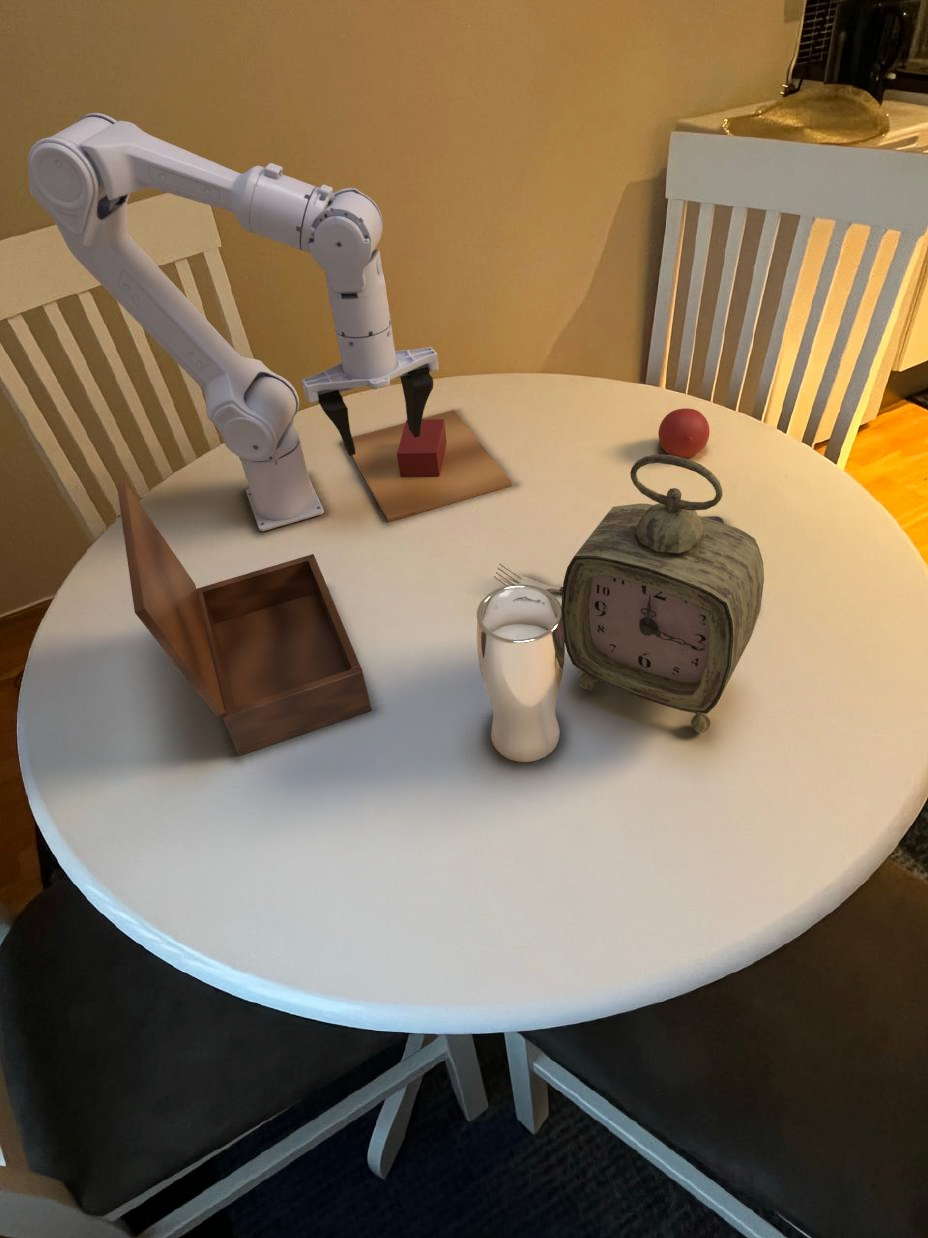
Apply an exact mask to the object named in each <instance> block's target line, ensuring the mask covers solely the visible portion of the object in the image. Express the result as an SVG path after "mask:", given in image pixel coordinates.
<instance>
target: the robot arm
mask: <svg viewBox="0 0 928 1238" xmlns="http://www.w3.org/2000/svg"><path fill="white" fill-rule="evenodd" d="M27 155H28V156H27V173H28V184H29V193H30V196H31V197H32V198H33V199H35V201H36V202H37V203H38V204H39V205H40V206H41V207H42V208H43V209H44V210H45V211H46V213H48V214H49V215H50V217H52V219H53V221H54V223H55V225H56V226H57V229H58V231H59V233H60V235H61V237H62V239H63V241H64V242H65V245H66V246H67V248H68V250H69V252H70V253H71V254H72V255H73V257H74V258H75V260H77V261H78V263H80V264H81V266H82V267H84V269H86V270H87V271H88V273H90V274H91V276H92V277H93V278H94V279H95V280H96V281H97V282H98V283H99V284H100V285H101V286H102V287H103V288H104V289H105V290H106V291H107V292H108V293H109V294H110V296H112V297H113V299H115V300H116V301H117V302H118V304H120V306H121V307H123V309H124V310H126V312H127V313H128V314H129V315H130V316H131V317H132V318H133V319H134V320H135V321H136V322H137V323H138V324H139V325H140V326H141V327H142V329H144V330H145V331H146V333H148V334H149V336H150V337H151V338H152V339H153V340H154V341H155V342H156V343H157V344H158V345H159V346H160V347H161V348H162V349H163V350H164V351H165V352H166V353H167V354H168V355H169V356H170V357H171V358H172V359H173V360H174V361H175V363H176V364H178V366H180V367H181V369H183V371H185V373H186V374H187V375H188V376H189V377H190V378H191V379H192V380H193V381H194V382H195V383H196V384H197V385H198V386H199V387H200V388H201V389H202V390H203V394H204V401H205V409H206V415H207V416H206V417H207V419H208V420H209V421H210V422H211V423H212V424H213V425H214V426H215V428H216V429H217V430H218V432H219V434H220V437H221V439H222V441H223V443H224V445H225V446H226V447H227V449H228V450H229V451H230V452H231V453H232V454H234V455H235V456H237V457H238V458H239V461H240V462H241V466H242V470H243V472H244V475H245V478H246V482H247V486H248V488H246V490H245V493H246V495H247V498H248V501H249V504H250V507H251V511H252V512H253V513H252V514H253V517H254V519H255V521H256V524H257V527H258V530H259V531H260V532H267V531H269V530H272V529H275V528H279V527H282V526H286V525H290V524H293V523H297V522H301V521H303V520H307V519H310V518H313V517H317V516H321V515H323V514H324V513H325V510H324V508H323V505H322V503H321V501H320V498H319V496H318V495H317V493H316V490H315V488H314V485H313V483H312V481H311V479H310V475H309V472H308V471H309V470H308V467H307V464H306V459H305V456H304V452H303V447H302V444H301V440H300V435H299V434H300V433H299V432H298V430H297V428H296V427H297V426H296V423H295V416H296V415H297V414H298V411H299V408H300V398H299V395H298V392H297V390H296V388H295V387H294V385H293V384H292V383H291V382H290V381H289V380H288V379H286V378H284V376H281V375H279V374H278V373H275V372H273V371H272V370H270V368H269V367H267V366H266V365H265V363H263V361H262V360H260V359H257V358H251V357H245V356H241V355H240V354H239V353H238V352H237V351H236V350H235V349H234V348H233V346H231V344H230V343H229V342H228V341H227V340H226V339H225V338H224V336H222V335H221V334H220V332H219V331H218V330H217V329H216V328H215V327H214V326H213V325H212V324H211V323H210V322H209V320H208V319H207V318H206V317H205V316H204V315H203V313H201V311H199V310H198V309H197V307H196V306H195V305H194V304H193V303H192V302H191V300H189V299H188V297H186V295H185V294H184V293H183V292H182V291H181V289H179V288H178V287H177V285H175V283H174V282H173V281H172V280H171V279H170V278H169V277H168V276H167V274H165V272H164V271H163V270H162V269H161V268H160V267H159V265H157V264H156V263H155V261H154V260H153V259H152V257H150V256H149V255H148V253H146V252H145V250H143V248H141V246H139V243H137V242H136V241H135V240H134V239H133V238H132V236H131V235H130V234H129V231H128V230H129V229H128V227H129V226H128V225H129V224H128V202H129V198H130V195H131V194H133V193H137V192H138V191H142V190H144V189H153V190H156V191H160V192H163V193H166V194H170V195H173V196H176V197H179V198H184V199H187V200H191V201H194V202H196V203H197V202H198V203H201V204H204V205H208V206H211V207H214V208H218V209H221V210H224V211H227V212H231V213H232V214H233V215H234V217H235V218H236V220H237V222H238V223H239V226H240V227H241V228H242V229H243V230H244V231H246V232H248V233H251V234H254V235H257V236H259V237H262V238H265V239H268V240H271V241H274V242H277V243H279V244H282V245H285V246H288V247H291V248H293V249H296V250H300V251H302V252H305V253H307V254H311V256H312V258H313V260H314V261H315V263H317V265H318V266H319V267H320V268H321V269H322V270H323V272H324V275H325V280H326V288H327V295H328V299H329V303H330V309H331V316H332V320H333V325H334V330H335V335H336V340H337V346H338V351H339V356H340V361H341V363H338V364H335V365H334V366H331V367H329V368H327V369H325V370H323V371H320V372H319V373H316V374H314V375H311V376H307V377H303V378H301V385H302V388H303V392H304V396H305V398H306V400H307V401H308V403H309V404H314V403H316V402H318V404H319V406H320V407H321V410H322V411H323V412H324V414H325V415H326V416H327V418H329V420H330V421H331V422H332V424H333V425H334V426H335V428H336V430H337V431H338V433H339V434H340V437H341V440H342V442H343V445H344V449H345V451H346V452H347V454H348V455H349V456H351V457H352V455H354V454H356V453H355V446H354V443H353V439H352V437H353V435H352V432H351V426H350V420H349V409H348V407H347V405H346V403H345V401H344V397H343V396H342V394H341V393H343V392H347V391H350V390H351V391H352V390H355V389H359V388H367V387H368V388H369V387H370V389H372V390H377V389H382V388H386V387H389V386H390V385H391V381H393V380H394V379H398V378H400V382H401V387H402V390H403V391H402V392H403V397H404V401H405V412H406V413H405V414H406V420H407V422H408V427H409V430H410V432H411V433H412V435H413V436H414V437H415V438H416V437H419V436H420V430H421V422H422V418H424V417H423V416H424V411H425V408H426V404H427V402H428V399H429V397H430V395H431V393H432V391H433V389H434V378H433V376H432V375H431V374H430V373H431V372H437V371H439V370H440V368H439V367H440V365H439V359H438V353H437V351H435V349H434V348H433V347H432V346H427V347H422V348H414V349H404V350H402V349H401V350H396V348H395V341H394V333H393V327H392V320H391V312H390V307H389V299H388V293H387V285H386V280H385V275H384V272H383V264H382V257H381V252H380V248H377V246H378V244H379V243H380V241H381V238H382V235H383V230H384V219H383V216H382V213H381V210H380V208H379V207H378V205H377V204H376V202H375V201H374V200H373V199H372V198H371V197H369V195H367V194H365V193H363V192H362V191H360V190H358V189H357V188H355V187H347V188H342V189H339V190H337V191H336V192H333V191H334V188H333V187H332V186H329V185H327V184H322V185H320V187H319V186H316V185H313V184H310V183H308V182H305V181H303V180H299V179H297V178H294V177H291V176H288V175H285V174H283V171H284V168H283V166H281V165H278V164H275V163H272V162H269V163H268V164H267V165H266V166H265V167H264V166H261V165H255V166H253V167H251V168H250V169H248V170H247V171H245V172H243V173H240V172H237V171H235V170H233V169H230V168H229V167H226V166H224V165H221V164H219V163H217V162H214V161H213V160H210V159H207V158H205V157H203V156H200V155H197V154H196V153H193V152H191V151H189V150H186V149H184V148H181V147H179V146H177V145H175V144H172V143H170V142H167V141H165V140H162V139H160V138H159V137H155V136H153V135H151V134H149V133H147V132H145V131H144V130H142V129H141V128H140V127H139V126H137V125H136V124H135V123H133V122H130V121H125V120H116V119H114V118H113V117H111V116H110V115H107V114H104V113H99V112H92V113H88V114H85V115H83V116H82V117H80V118H79V119H78V120H77V121H76V122H75V123H73V124H72V125H70V126H67V127H66V128H64V129H62V130H61V131H59V132H56V133H55V134H53V135H51V136H48V137H44V138H41V139H39V140H37V141H36V142H35V143H33V145H32V146H31V148H30V150H29V153H28V154H27Z"/></svg>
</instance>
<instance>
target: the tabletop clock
mask: <svg viewBox="0 0 928 1238" xmlns="http://www.w3.org/2000/svg"><path fill="white" fill-rule="evenodd" d="M649 464H651V465H652V464H665V465H671V466H675V467H680V468H684V469H686V470H689V471H692V472H695V473H696V474H698V475H700V476H702V477H703V478H705V479H706V480H707V481H708V482H709V483H710V484H711V486H712V488H713V489H714V490H715V496H714V498H713V499H709V500H707V501H690V500H685V499H682V492H681V490H680V489H678V488H676V487H671V488H669V489H668V490H667V492H666V495H665V494H662V493H659V492H657V491H655V490H653V489H651V488H649V487H647V486H646V485H644V484H643V483H642V482H641V481H640V480H639V479H638V475H637V474H638V470H639V469H641V468H642V467H644V466H647V465H649ZM630 479H631V481H632V483H633V485H634V486H635V488H636V489H637V490H638V491H639V492H640V494H642V495H644V497H646V498H647V499H648V498H649V499H650V500H652V501H653V502H656V503H655V504H651V503H633V504H625V505H617V506H612V507H611V508H610V510H609V511H608V512H607V513H606V515H605V516H604V517H603V519H602V520H601V521H600V523H599V524H598V525H597V526H596V528H595V529H594V530H593V531H592V533H591V534H589V536H588V538H587V539H586V540H585V542H583V544H582V545H581V547H580V548H578V551H577V552H576V553H575V554H574V555H573V557H572V559H571V561H570V562H569V564H568V565H567V566H566V567H567V568H566V570H565V573H564V578H563V581H562V582H563V583H562V587H563V592H561V593H562V594H561V603H560V605H561V608H562V621H563V629H564V641H565V651H566V653H567V656H568V658H569V659H570V662H571V665H573V666H574V667H576V668H577V669H579V670H580V671H581V672H582V673H583V674H582V675H581V676H580V677H579V684H580V687H581V688H582V689H584V690H587V691H592V690H593V689H594V688H596V687H597V685H598V681H600V682H602V683H604V684H606V685H609V686H611V687H613V688H615V689H618V690H620V691H623V692H626V693H627V694H629V695H632V696H634V697H637V698H640V699H643V700H646V701H649V702H651V703H656V704H658V705H661V706H665V707H667V708H671V709H674V710H678V711H681V712H687V713H691V714H695V715H694V716H692V718H691V720H690V726H691V728H692V730H693V731H694V732H696V733H700V734H702V733H706V732H707V731H708V730H709V728H710V727H711V721H710V719H709V717H708V716H707V714H709V712H711V711H712V710H713V709H714V708H715V707H716V706H717V704H718V702H719V701H720V698H721V697H722V695H723V693H724V691H725V689H726V687H727V685H728V683H729V681H730V679H731V677H732V675H733V674H734V672H735V670H736V668H737V666H738V664H739V662H740V660H741V658H742V656H743V654H744V652H745V650H746V649H747V646H748V644H749V642H750V640H751V639H752V636H753V633H754V631H755V627H756V625H757V621H758V619H759V615H760V613H761V609H762V600H763V593H764V592H763V590H764V583H765V569H764V561H763V557H762V554H761V551H760V547H759V544H758V543H757V539H756V538H755V537H753V536H752V535H750V534H749V533H747V532H746V531H744V530H742V529H740V528H738V527H735V526H734V525H731V524H727V523H725V522H724V523H721V522H718V521H715V520H711V519H708V518H705V517H706V516H702V515H699V514H698V512H697V511H707V510H709V509H711V508H714V507H715V506H717V505H718V504H719V502H720V501H721V500H722V497H723V495H724V494H723V487H722V485H721V483H720V479H718V477H717V476H716V475H715V474H714V473H713V472H712V471H711V470H710V469H708V468H706V467H705V466H704V465H702V464H701V463H698V462H696V461H693V460H691V459H689V458H687V459H685V458H681V457H677V456H672V455H668V454H663V453H662V454H661V453H656V454H655V453H654V454H649V455H645V456H642V457H641V458H639V459H638V460H636V461H635V462H634V464H633V465H632V466H631V470H630Z"/></svg>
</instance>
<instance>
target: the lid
mask: <svg viewBox="0 0 928 1238" xmlns="http://www.w3.org/2000/svg"><path fill="white" fill-rule="evenodd" d="M116 488H117V495H118V497H117V498H118V503H119V511H120V517H121V525H122V532H123V539H124V545H125V552H126V561H127V567H128V575H129V581H130V582H129V583H130V588H131V590H130V591H131V596H132V603H133V610H134V611H133V612H134V614H135V615H136V616H137V618H138V619H139V620H140V621H141V622H142V624H143V625H144V626H145V628H146V629H147V630H148V631H149V633H150V634H151V636H153V638H154V639H155V641H156V642H157V643H158V644H159V646H160V647H161V648H162V650H163V651H164V652H165V653H166V655H167V656H168V657H169V658H170V660H171V661H172V663H174V664H175V666H176V667H177V669H178V670H179V671H180V672H181V674H182V675H183V676H184V677H185V678H186V680H187V681H188V683H189V684H190V685H191V686H192V688H193V689H194V690H195V692H196V693H197V694H198V695H199V697H201V699H202V700H203V701H204V703H205V704H206V705H207V707H208V708H209V709H210V710H211V711H212V713H213V714H214V715H215V717H219V716H222V714H224V713H225V711H224V706H223V702H222V698H221V693H220V689H219V685H218V680H217V676H216V672H215V667H214V663H213V659H212V654H211V650H210V646H209V641H208V637H207V633H206V628H205V624H204V620H203V616H202V611H201V607H200V603H199V598H198V594H197V590H196V589H197V586H196V585H197V584H196V583H195V582H194V580H193V579H192V577H191V576H190V574H189V573H188V571H187V570H186V569H185V567H184V566H183V564H182V563H181V561H180V560H179V559H178V557H177V555H176V553H175V552H174V551H173V550H172V548H171V547H170V545H169V544H168V542H167V541H166V539H165V538H164V536H163V535H162V533H161V532H160V531H159V529H158V527H157V526H156V524H155V523H154V522H153V520H152V518H151V517H150V516H149V515H148V513H147V511H146V510H145V509H144V507H143V505H142V504H141V503H140V501H139V500H138V498H137V497H136V496H135V494H134V492H133V491H132V490H131V488H130V486H129V485H128V483H127V481H123V482H120V483H117V485H116Z"/></svg>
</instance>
